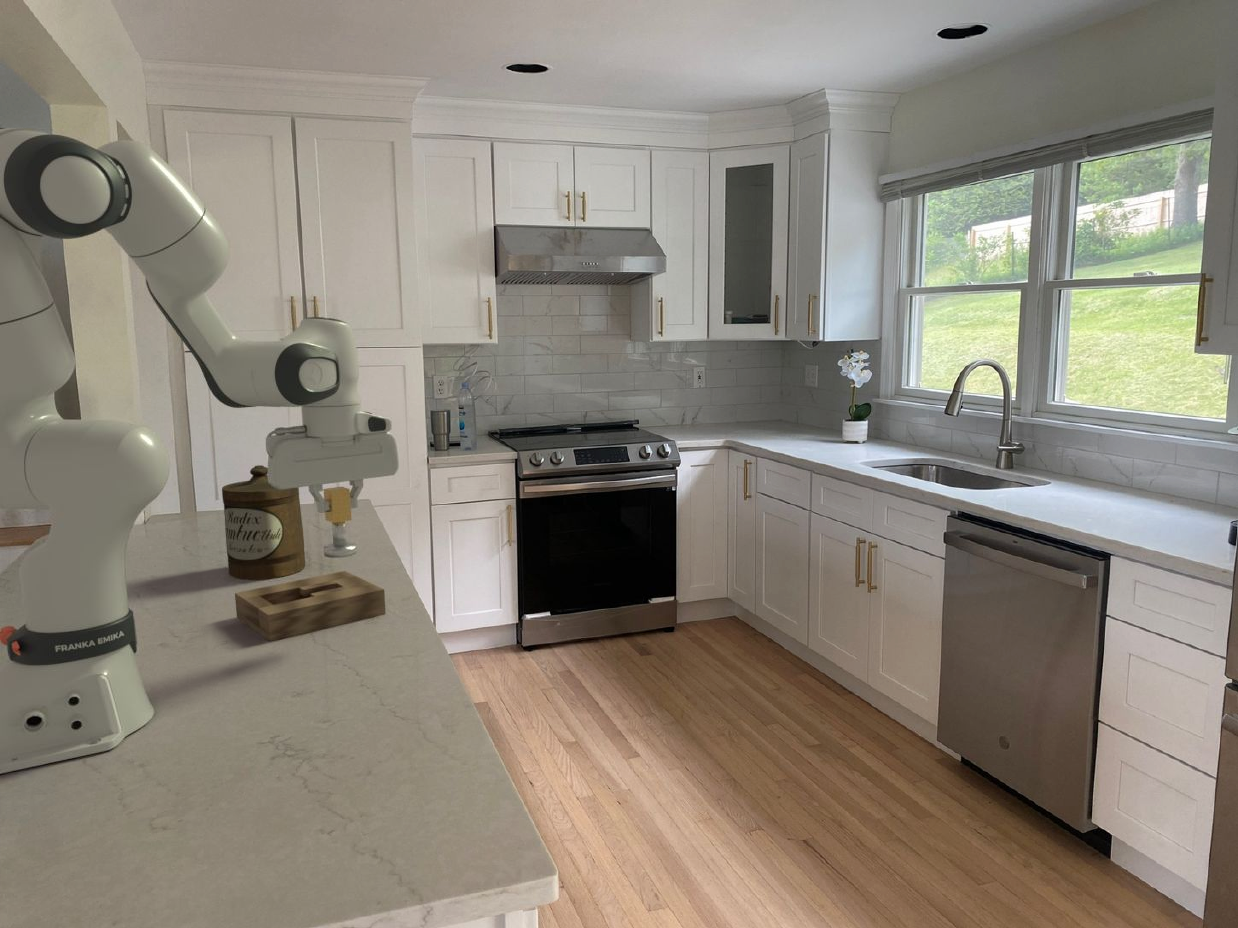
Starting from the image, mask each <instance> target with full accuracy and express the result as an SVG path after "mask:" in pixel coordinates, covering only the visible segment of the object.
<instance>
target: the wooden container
mask: <svg viewBox="0 0 1238 928" xmlns="http://www.w3.org/2000/svg"><path fill="white" fill-rule="evenodd" d="M249 473H250V475H252V476H251V478H250V479H249V480H244V481H238V482H233V483H229V484H226V485H224V486H222V487H221V495H222V497H221V498H222V502H223V511H224V526H225V528H224V529H225V530H224V531H225V545H226V555H227V565H228V574H229V576H230V577H232V578H235V579H240V580H245V579H247V580H249V581H250V580H251V581H254V580H255V581H256V580H257V581H258V580H271V579H274V578H275V579H276V578H281V577H282V578H283V577H286V576H291V575H293V574H296V573H298V572H301V571H302V570H303V569H305V567H306V553H305V539H304V527H303V520H302V511H301V503H300V501H301V500H300V489H299V488H300V487H298V488H290V489H282V490H280V489H276V488H274V487H273V486H271V485H270V484H269V482H268V466H267V467H266V466H265V465H259V464H258V465H254V467H252V468H250V470H249Z"/></svg>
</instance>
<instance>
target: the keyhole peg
mask: <svg viewBox="0 0 1238 928" xmlns="http://www.w3.org/2000/svg"><path fill="white" fill-rule="evenodd" d="M350 491H351V490H350V488H348V487H345V486H337V487H329V488H323V499H324V500H329V501H330V504H331V505H330V508H331V511H330V512H325V513H324V518H325V519H324V520H325V521H327V522H330V523H331V529H332V542H333V543H330V544H327V545H325V546H323V555H324V557H326V558H330V559H331V558H332V559H335V558H337V559H338V558H346V557H351V556H354V555H356V554H357V553H358V550H357V547H358V546H357V544H356V543H354V542H347V533H346V531H347V529H346V522H347V521H352V509H351V504H350Z"/></svg>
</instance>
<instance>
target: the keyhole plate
mask: <svg viewBox="0 0 1238 928" xmlns="http://www.w3.org/2000/svg"><path fill="white" fill-rule="evenodd" d="M234 599H235V601H234V602H235V613H236V618H237V619H238V618H239V620H240V621H241V622H242V623H243V624H245V623H246V624H245V625H247V626H248V627H250V628H251V629H252V628H253V629H252V630H254V631H255V632H257V633H258V634H259V635H261V636H262V637H263V638H265V639H266V640H267V641H269V642H273V641H277V640H282V639H286V638H290V637H294V636H298V635H302V634H306V633H311V632H314V631H318V630H323V629H328V628H332V627H336V626H340V625H344V624H348V623H352V622H356V621H361V620H364V619H368V618H374V617H377V616H381V615H385V614H386V613H387V612H386V596H385V588H383V587H380V586H378V585H377V584H374V583H372V582H370V581H367V580H365V579H363V578H361V577H359V576H356V575H355V574H352V573H351V572H349V571H346V570H344V571H338V572H332V573H329V574H323V575H319V576H318V575H317V576H313V577H307V578H303V579H298V580H294V581H288V582H283V583H277V584H274V585H273V584H272V585H268V586H263V587H259V588H253V589H248V590H243V591H238V592H235V593H234Z"/></svg>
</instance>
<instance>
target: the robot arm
mask: <svg viewBox="0 0 1238 928" xmlns="http://www.w3.org/2000/svg"><path fill="white" fill-rule="evenodd" d="M103 229H104V230H105V231H106V233H109V234H110V235H111V236H112V237H113V239H114V240H115V242H117V243H118V245H119V246H120V247H121V249H122V250H123V251H124V252H125V253H126V254H127V255H128V257H129V258H130V259H131V261H133V262H134V264H135V266H137V268H138V269H139V270H140V271H141V273H142V274H143V276H144V277H145V284H146V288H147V289H148V292H149V294H150V297H152V300H153V302H154V303H155V304H156V306H157V308H158V309H159V311H160V313H162V315H163V316H164V318H165V319H166V320H167V322H168V323H169V324H170V326H171V327H172V328H173V330H174V331H175V333H176V334H177V335H178V336H179V338H180V339H181V341H182V342H183V343H184V345H185V346H186V347H187V349H188V351H189V352H190V353H191V354H192V357H193V358H195V361H196V362H197V363H198V365H199V367H200V371H201V372H202V375H203V377H204V379H205V382H206V384H207V386H208V389H209V390H210V391H211V393H212V394H213V396H214V398H216V400H218V401H219V402H220V403H222V404H223V405H224V406H227V407H228V408H229V407H230V408H234V409H235V408H236V409H241V408H254V407H255V408H256V407H265V408H267V407H269V408H270V407H271V408H272V407H273V408H299V407H301V419H302V420H301V423H302V425H295V426H289V427H275V428H274V430H272V431H271V432H269V433H268V434H267V436H266V437H265V449H266V450H265V451H266V453H267V455H268V460H267V468H268V474H267V476H268V482H269V484H270V485H271V486H273V487H274V488H276V489H280V490H282V489H290V488H298V487H299V488H304V487H308V492H310V494H311V496H312V497H313V499H314V500H315V501H316V508H317V512H318V513H320V514H325V512H330V511H331V508H330V505H331V504H330V501H329V500H324V496H322V494H321V492H324V490H323V489H324V488H323V485H327V484H336V483H342V482H343V483H344V482H349V486H352V487H351V490H350V504H351V510H352V509H357V508H358V497H359V495H360V494H361V492H362V489H363V487H364V480H365V479H375V478H382V477H383V478H384V477H389V476H390V477H391V476H395V475H396V473H397V472H398V471H399V466H400V465H399V463H400V462H399V452H398V446H397V441H396V438H395V436H394V435H393V434H392V433H390V431H391V430H392V427H393V422H392V420H391V419H390V418H389V417H385V416H381V415H378V414H373V412H368V411H363V410H362V403H361V398H360V394H359V390H358V383H359V378H360V367H359V366H360V365H359V356H358V350H357V349H358V347H357V341H356V337H355V334H354V331H353V330H352V327H351V325H350V324H348V323H347V322H345V321H343V320H341V319H337V318H331V317H320V316H319V317H318V316H312V317H310V316H309V317H306V318H302V320H301V321H300V323H299V326H298V327H297V328H296V329H295V330H294V331H292V332H290V334H288V335H286V336H284V337H282V338H280V339H279V340H271V341H269V340H268V341H267V340H265V341H263V340H261V341H257V340H256V341H254V340H250V339H245V338H243V337H239V336H238V335H236V334H234V333H233V332H232V331H231V330H230V329H229V327H228V326H227V324H226V323H225V321H224V320H223V318H222V316H221V315H220V314H219V312H218V311H217V310H216V308H215V307H214V305H213V303H212V302H211V301H210V299H209V298H208V295H207V292H208V290H210V289H211V288H213V286H214V285H215V284H216V282H217V281H218V280H219V279H220V278H221V277H222V275H223V274H224V272H225V270H226V268H227V265H228V263H229V262H228V261H229V257H230V244H229V242H228V239H227V236H226V234H225V232H224V231H223V228H222V227H221V225H220V224H219V223H218V221H217V220H216V218H215V217H214V216H213V213H211V212H210V210H209V209H208V207H206V205H205V204H204V203H203V201H202V200H201V199H200V197H198V195H197V194H196V192H194V190H193V189H192V188H191V187H190V185H188V183H187V182H186V181H185V180H184V179H183V178H182V177H181V176H180V175H179V173H177V172H176V170H174V169H173V167H171V166H170V165H169V164H168V163H167V162H166V160H164V159H163V158H162V157H161V156H160V155H159V154H158V153H156V152H155V151H154V150H153V149H152V148H151V147H149V146H148V145H147V144H145V143H142V142H139V141H136V140H128V139H124V140H123V139H121V140H116V141H111V142H108V143H106V144H103V145H101V146H99V147H98V148H94V147H92V146H91V145H89V144H87V143H84V142H83V141H81V140H78V139H76V138H73V137H69V136H65V135H61V134H51V133H47V132H45V131H42V130H39V129H36V128H35V129H34V128H28V127H0V508H2V509H7V510H38V511H39V510H44V511H45V510H46V511H50V513H51V525H50V530H49V533H48V535H47V536H48V537H47V538H46V541H45V542H43V543H41V544H40V545H38V546H36V547H35V548H34V549H32V550H31V551H30V552H28V553H27V555H26V556H25V557H24V558H23V560H22V561H21V563H20V566H19V570H18V576H19V584H20V592H21V599H22V608H23V609H22V610H23V616H24V617H23V618H24V624H23V625H21V627H19V628H18V629H17V628H15V626H13V625H7V626H4V627H1V629H0V643H2V645H4V646H6V650H7V654H8V655H7V656H8V658H9V659H8V660H7V661H6V662H5V663H4V664H3V665H2V666H0V774H6V773H10V772H14V771H19V770H23V769H28V768H32V767H38V766H43V765H46V764H50V763H55V762H61V761H65V760H69V759H74V758H79V757H84V756H88V755H94V754H97V753H102V752H107V751H110V750H112V749H113V748H115V747H117V746H118V745H119V744H120V743H121V742H122V741H123V740H124V739H125V737H127V736H129V735H130V734H132V733H134V732H135V731H137V730H139V729H140V728H142V727H143V726H144V725H146V724H147V723H148V722H150V721H151V719H152V718H153V716H154V714H155V709H154V707H153V705H152V703H151V701H150V699H149V697H148V695H147V691H146V689H145V686H144V682H143V680H142V677H141V674H140V673H141V672H140V669H139V665H138V661H137V657H136V653H137V649H138V647H137V646H138V634H137V625H136V618H135V617H134V611H133V610H131V608H130V607H129V599H128V585H127V583H128V582H127V571H126V570H127V568H126V567H127V564H126V562H127V561H126V555H127V547H128V541H129V538H130V534H131V532H132V529H133V526H134V524H135V523H136V521H137V518H138V517H139V516H140V515H141V513H142V511H144V509H145V508H146V507H147V506H148V505H150V504H151V503H152V502H153V501H154V500H156V499H157V498H158V496H159V495H160V494H161V492H163V490H164V488H165V486H166V484H167V483H168V482H167V481H168V480H169V476H170V475H169V474H170V468H171V467H170V457H169V452H168V450H167V447H166V446H165V443H164V442H163V440H162V439H161V437H160V436H159V435H158V434H157V433H156V432H155V431H154V430H152V429H150V428H148V427H145V426H140V425H136V424H133V423H129V422H128V423H127V422H124V421H119V420H118V421H117V420H114V419H64V418H63V417H62V416H61V415H60V414H59V412H58V409H57V407H56V406H57V405H56V400H55V392H57V391H59V389H61V388H62V387H63V386H64V385H65V384H66V383H67V382H68V381H69V380H70V378H71V376H72V375H73V373H74V370H75V368H76V356H75V353H74V351H73V348H72V345H71V343H70V340H69V337H68V335H67V331H66V329H65V326H64V324H63V322H62V318H61V316H60V313H59V310H58V309H57V305H56V303H55V301H54V299H53V296H52V294H51V291H50V289H49V286H48V284H47V281H46V279H45V277H44V275H43V273H42V272H43V268H42V261H41V254H42V247H43V244H44V243H43V242H44V240H45V237H50V238H55V239H60V240H61V239H62V240H70V239H72V240H73V239H80V238H83V237H87V236H89V235H93V234H96V233H97V232H99V231H102V230H103Z"/></svg>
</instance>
